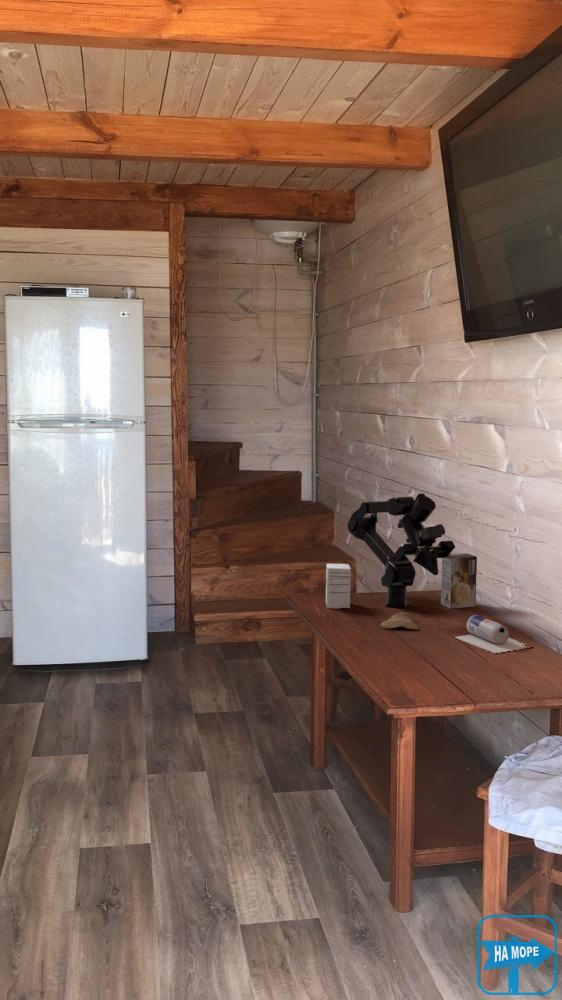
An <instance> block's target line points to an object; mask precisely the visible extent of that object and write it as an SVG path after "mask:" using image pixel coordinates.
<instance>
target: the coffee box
mask: <svg viewBox="0 0 562 1000" xmlns="http://www.w3.org/2000/svg"><path fill="white" fill-rule="evenodd" d="M477 566H478V556H476V555H473V554H470V553H450V554H449V555H448V557H446V558H441V582H440V586H441V588H440V605H442V606H443V607H447V608H448V609H460V608H472V607H473V608H475V607H476V602H477V601H476V599H477V598H476V597H477V572H478V571H477V570H478V567H477Z"/></svg>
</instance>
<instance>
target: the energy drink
mask: <svg viewBox="0 0 562 1000" xmlns="http://www.w3.org/2000/svg"><path fill="white" fill-rule="evenodd" d="M465 626H466V630H467V632H468V633H469V634H470V635H472V634H474V635H476V636H478V637H481V638H483V639H486V640H488V641H490V642H493V643H495V644H503V643H505V642H506V641H507V639H508V638H510V637H509V636H510V632H509V628H508V627H506V625H504V624H502V623H499V622H497V621H494V620H491V619H489V618H487V617H483V616H481V615H478V614H473V615H471V616H470V617H469V618H468V619H467V620H466V625H465Z"/></svg>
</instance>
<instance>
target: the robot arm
mask: <svg viewBox="0 0 562 1000" xmlns="http://www.w3.org/2000/svg"><path fill="white" fill-rule="evenodd" d="M415 497H416V498H415V499H414V497H413V496H393V497H391V498H389V499H388V500H382V501H381V500H380V501H377V500H365V501H363V502H362V503H361V504H360V506H359V508H357V509H356V510H355V511H354V512H353V513H352V514H351V515H350V518H349V520H348V522H347V530H348V532H349V533H350V534H351V536H353V537H354V538H356V539H358V540H361V541H363V542H364V543H365V544H366V546H368V547H369V549H370V550H371V551H372V552H373V554H375V556H376V557H377V559H378V560H379V561H380V562H381V563H382V564H383V565H384V574H383V575H382V577H381V578H380V583H381V586H383V587H386V588H387V600H386V602H385V607H388V606H392V608H407V607H408V601H407V587H409V586H410V587H413V584H414V582H415V578H416V569H415V567H414V565H413V563H416V564H418V565H419V566H421V567H423V568H424V569H426V570H427V571H428V572H429V573H431V574H432V575H433V576H438V575H439V567H438V566H439V565H438V564H439V563H438V559H442V558H446V557H448V555H449V554H452V552H453V551H454V549H455V548H456V545H455V542H454V541H453V540H450V539H449V540H448V539H447V540H440V541H439V543H438V544H437V545H434V544H435V543H436V542H437V540H436V539H438V538H442V537H443V535H445V534H446V528H445V527H444V525H443V524H441V523H440V524H436V525H433V526H427V527H425V526H424V524H423V523H424V522H426V521H427V520H428V518H429V517H430V516H431V514H433V512H434V511H435V509H436V508H437V507H436V506H437V505H436V503H435V501H434V500H433V499H431V498H430V497H429V496H426V495H425V493H417V496H415ZM379 513H387V514H389V515H391V516H394V517H399V516H402V517H401V518H400V519H398V523H397V528H398V529H403V531H404V533H405V535H406V537H407V538H406V540H405V541H406V543H401V544H400V545H399V547H398V548H397V550H396V551H395V552H394V551H393V550H392V549H391V547H390V546H389V545H388V544H387V543H386V541H385V540H384V539H383V538H382V537H381V536H380V535H379V533H378V532H377V523H378V520H379V519H378V514H379ZM368 514H370V516H366V515H368ZM408 556H414V559H413V560H412V561H413V562H412V561H410V558H408Z"/></svg>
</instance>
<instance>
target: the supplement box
mask: <svg viewBox="0 0 562 1000" xmlns="http://www.w3.org/2000/svg"><path fill="white" fill-rule="evenodd" d="M325 567H326V568H325V569H326V571H325V604H326V608H327V609H340V608H349V609H351V590H352V589H351V586H352V585H351V584H352V583H351V581H352V569H351V566H350V564H349V563H326V565H325Z"/></svg>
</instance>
